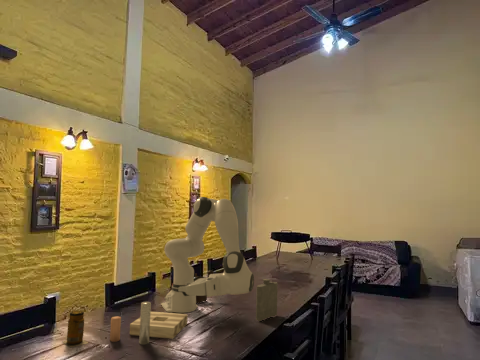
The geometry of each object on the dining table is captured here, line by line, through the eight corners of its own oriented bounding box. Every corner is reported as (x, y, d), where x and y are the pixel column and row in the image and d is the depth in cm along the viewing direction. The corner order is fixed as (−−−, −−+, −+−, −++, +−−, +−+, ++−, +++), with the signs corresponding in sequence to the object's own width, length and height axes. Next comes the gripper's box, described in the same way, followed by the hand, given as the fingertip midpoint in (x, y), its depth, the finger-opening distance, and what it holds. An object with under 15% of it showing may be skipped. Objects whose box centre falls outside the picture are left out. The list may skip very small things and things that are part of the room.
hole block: (148, 320, 175) (148, 311, 175) (187, 323, 172) (187, 314, 172) (129, 334, 155) (130, 324, 156) (173, 338, 152) (173, 327, 152)
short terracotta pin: (108, 339, 149) (109, 317, 150) (118, 337, 151) (119, 315, 152) (111, 342, 146) (112, 319, 147) (121, 340, 148) (122, 318, 149)
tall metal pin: (137, 342, 147) (139, 302, 148) (146, 340, 149) (148, 301, 151) (141, 345, 144) (143, 304, 145) (150, 343, 146) (152, 303, 147)
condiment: (79, 337, 150) (81, 308, 151) (88, 343, 144) (90, 313, 145) (61, 342, 145) (64, 312, 146) (70, 348, 139) (72, 316, 140)
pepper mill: (195, 304, 206) (196, 273, 208) (182, 301, 213) (184, 270, 215) (214, 300, 218) (215, 270, 219) (202, 296, 225) (203, 268, 226)
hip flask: (259, 322, 177) (260, 281, 179) (253, 320, 180) (254, 280, 181) (278, 316, 189) (278, 278, 190) (272, 314, 192) (272, 276, 193)
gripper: (219, 273, 156) (188, 275, 158) (208, 280, 136) (174, 283, 138) (220, 288, 156) (189, 290, 157) (209, 297, 135) (175, 299, 137)
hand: (182, 287), depth 147 cm, fingers open, 8 cm apart
